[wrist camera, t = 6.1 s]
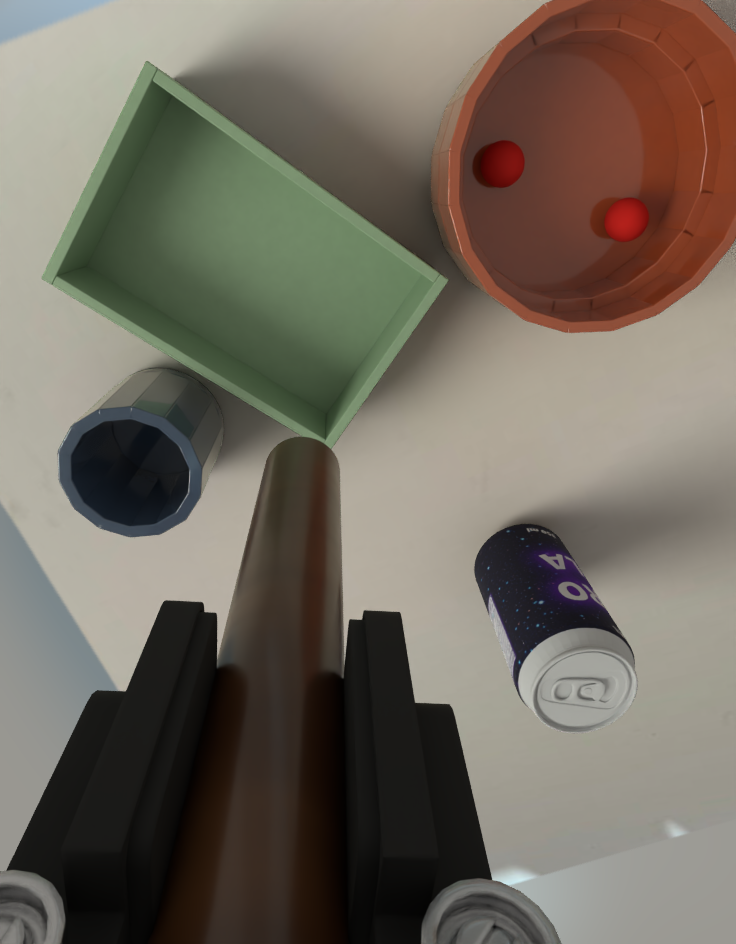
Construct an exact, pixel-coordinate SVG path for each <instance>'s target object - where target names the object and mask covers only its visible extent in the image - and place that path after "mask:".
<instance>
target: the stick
mask: <svg viewBox="0 0 736 944" xmlns="http://www.w3.org/2000/svg"><path fill="white" fill-rule="evenodd" d="M343 677H344V627H343V585H342V542H341V500H340V468H339V463H338V460H337V458H336V456H335V454H334V453H333V451H332V450H331V449H330V448H329V447H328V446H327V445H325V444H324V443H322V442H321V441H319V440H316V439H313V438H309V437H294V438H290V439H287V440H285V441H283V442H281V443H280V444H278V445H277V446H276V447H275V448H274V449H273V450H272V451H271V452H270V454H269V456H268V458H267V460H266V464H265V468H264V472H263V476H262V480H261V485H260V489H259V493H258V497H257V501H256V505H255V509H254V513H253V517H252V521H251V525H250V529H249V533H248V537H247V541H246V545H245V549H244V553H243V557H242V562H241V566H240V570H239V574H238V578H237V582H236V586H235V590H234V594H233V598H232V602H231V606H230V610H229V614H228V618H227V622H226V626H225V630H224V634H223V639H222V643H221V647H220V651H219V655H218V659H217V670H216V674H215V678H214V682H213V687H212V691H211V695H210V699H209V703H208V707H207V711H206V715H205V719H204V724H203V728H202V732H201V736H200V740H199V744H198V748H197V752H196V756H195V761H194V765H193V769H192V773H191V777H190V781H189V785H188V789H187V793H186V798H185V802H184V806H183V810H182V814H181V818H180V822H179V826H178V831H177V835H176V839H175V843H174V847H173V851H172V855H171V859H170V863H169V868H168V872H167V876H166V880H165V884H164V888H163V892H162V896H161V900H160V905H159V909H158V913H157V917H156V921H155V925H154V929H153V932H152V934H151V936H150V938H149V940H148V943H147V944H350V943H349V940H348V902H347V850H346V797H345V745H344V692H343Z"/></svg>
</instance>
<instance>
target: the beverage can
mask: <svg viewBox="0 0 736 944" xmlns="http://www.w3.org/2000/svg"><path fill="white" fill-rule="evenodd" d="M475 578H476V581H477V583H478V586H479V589H480V592H481V594H482V597H483V600H484V602H485V605H486V608H487V611H488V613H489V616H490V619H491V621H492V624H493V627H494V630H495V632H496V635H497V638H498V640H499V643H500V646H501V648H502V651H503V654H504V657H505V659H506V662H507V665H508V667H509V670H510V673H511V676H512V678H513V681H514V684H515V686H516V689H517V692H518V694H519V696H520V698H521V700H522V701H523V702H524V704H525V705H526V706H527V707H528V708H530V709H531V710H532V711H533V712H535V714H536V716H537V717H538V718H539V719H540V721H542V722H543V723H544V724H545V725H547V726H548V727H550V728H552V729H554V730H557V731H560V732H565V733H586V732H591V731H595V730H598V729H601V728H603V727H606V726H608V725H609V724H611V723H613V722H614V721H616V720H617V719H619V718H620V717H621V716H622V715H623V714H624V713H625V712H626V711H627V710H628V708H629V707H630V706H631V704H632V702H633V701H634V698H635V696H636V692H637V687H638V680H637V675H636V672H635V661H634V655H633V652H632V649H631V647H630V645H629V644H628V642H627V641H626V639H625V638H624V636H623V635H622V633H621V631H620V630H619V628H618V627H617V625H616V624H615V622H614V621H613V619H612V618H611V616H610V615H609V613H608V611H607V610H606V608H605V607H604V605H603V604H602V602H601V601H600V599H599V598H598V596H597V595H596V593H595V592H594V590H593V588H592V587H591V585H590V584H589V582H588V581H587V579H586V578H585V576H584V575H583V573H582V572H581V570H580V569H579V567H578V565H577V564H576V562H575V561H574V559H573V558H572V556H571V555H570V553H569V552H568V550H567V549H566V547H565V545H564V544H563V542H562V541H561V539H560V538H559V537H558V536H557V535H556V534H555V533H553V532H552V531H551V530H549V529H547V528H545V527H542V526H539V525H533V524H520V525H514V526H510V527H507V528H505V529H503V530H501V531H499V532H497V533H496V534H494V535H493V536H492V537H490V538H489V539H488V540H487V541H486V542H485V543H484V545H483V546H482V547H481V549H480V551H479V553H478V555H477V557H476V561H475Z"/></svg>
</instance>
